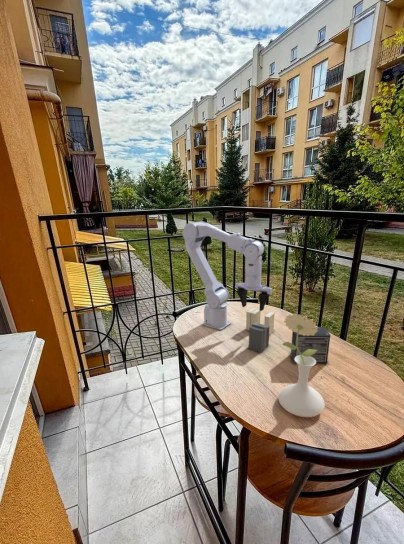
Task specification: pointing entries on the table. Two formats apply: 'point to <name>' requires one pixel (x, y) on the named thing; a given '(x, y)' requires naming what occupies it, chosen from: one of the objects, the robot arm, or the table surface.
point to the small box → (313, 345)
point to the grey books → (258, 337)
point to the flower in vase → (301, 374)
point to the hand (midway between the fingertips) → (252, 308)
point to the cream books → (252, 317)
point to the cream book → (270, 321)
